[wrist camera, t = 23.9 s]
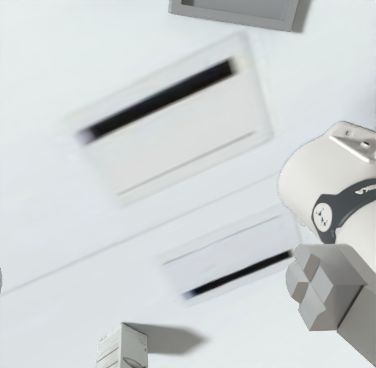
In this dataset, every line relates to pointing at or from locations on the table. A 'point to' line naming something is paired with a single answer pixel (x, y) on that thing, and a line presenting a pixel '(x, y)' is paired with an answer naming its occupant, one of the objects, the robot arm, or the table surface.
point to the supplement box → (122, 349)
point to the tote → (240, 11)
